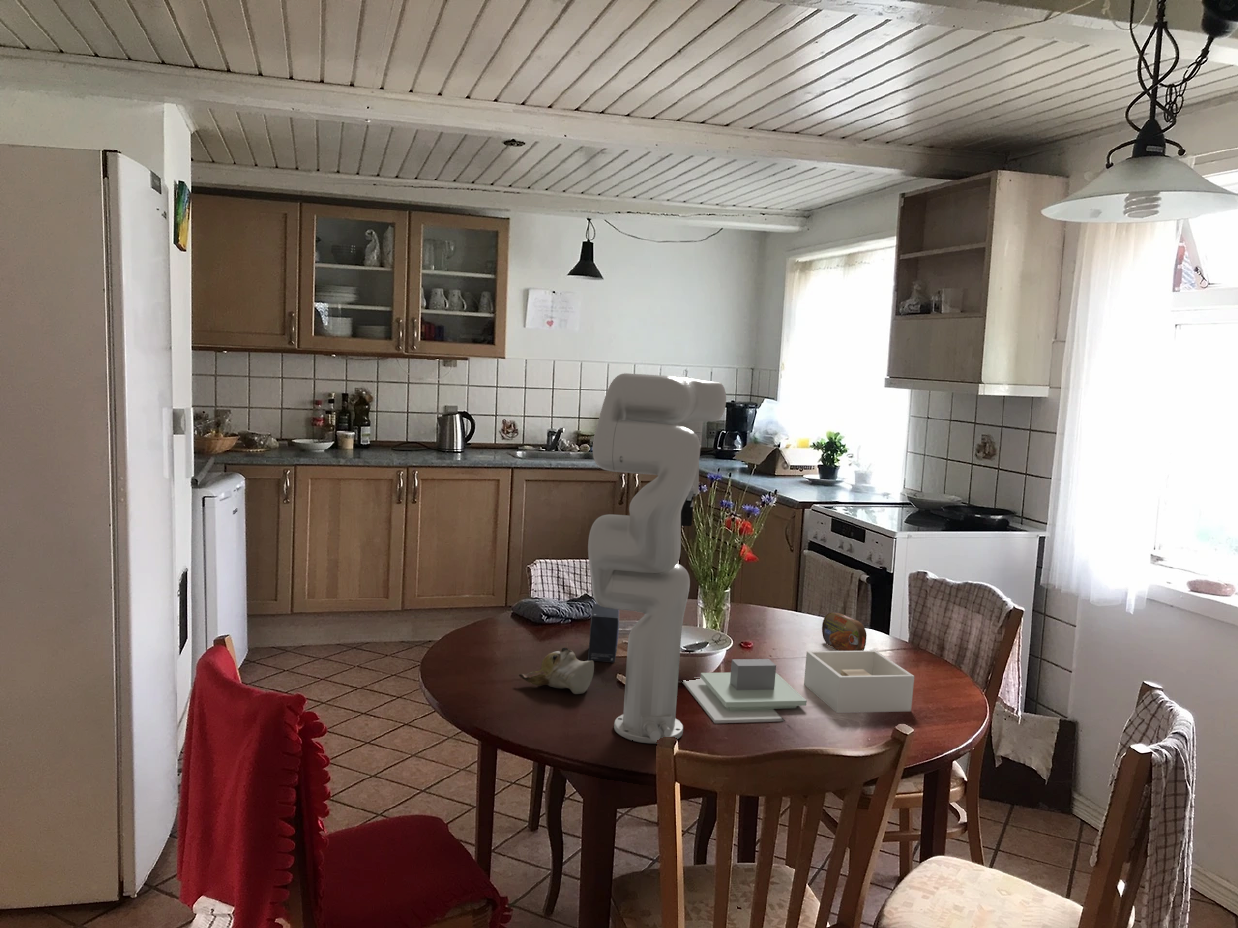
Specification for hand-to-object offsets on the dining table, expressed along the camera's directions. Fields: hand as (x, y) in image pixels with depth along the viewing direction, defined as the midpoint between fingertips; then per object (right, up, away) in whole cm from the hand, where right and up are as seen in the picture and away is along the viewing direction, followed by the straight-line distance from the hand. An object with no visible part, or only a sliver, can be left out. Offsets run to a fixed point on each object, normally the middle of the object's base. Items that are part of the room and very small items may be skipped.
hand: (677, 521), depth 195 cm
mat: (+15, -36, -6) cm, 39 cm away
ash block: (+36, -36, -3) cm, 51 cm away
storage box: (+36, -37, -3) cm, 52 cm away
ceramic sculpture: (-24, -34, -5) cm, 42 cm away
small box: (-16, -32, +17) cm, 39 cm away
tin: (+42, -34, +32) cm, 63 cm away
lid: (+15, -35, -6) cm, 39 cm away
